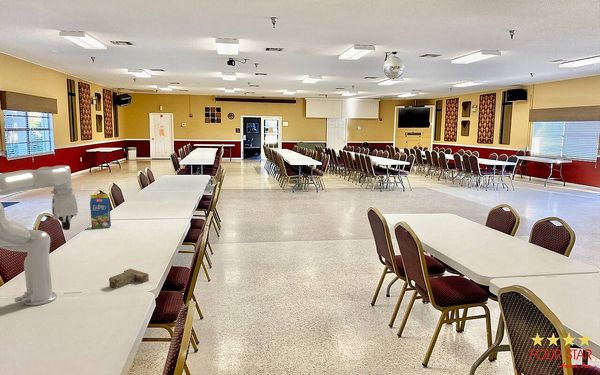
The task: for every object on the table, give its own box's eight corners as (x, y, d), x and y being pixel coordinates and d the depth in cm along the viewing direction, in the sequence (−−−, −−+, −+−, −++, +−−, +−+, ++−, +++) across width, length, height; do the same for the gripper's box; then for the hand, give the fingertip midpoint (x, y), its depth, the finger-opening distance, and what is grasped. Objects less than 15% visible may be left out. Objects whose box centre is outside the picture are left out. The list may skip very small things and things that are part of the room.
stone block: (135, 281, 208) (135, 272, 207) (116, 290, 198) (115, 280, 197) (127, 279, 211) (127, 270, 210) (107, 287, 201) (107, 277, 200)
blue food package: (93, 226, 315) (91, 194, 311) (110, 225, 318) (108, 193, 314) (91, 228, 309) (89, 195, 305) (109, 228, 312) (107, 194, 308)
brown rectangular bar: (141, 283, 206) (141, 276, 205) (124, 277, 213) (123, 270, 213) (148, 280, 209) (148, 273, 208) (131, 275, 216) (130, 268, 216)
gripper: (51, 194, 190) (54, 234, 193) (82, 190, 202) (85, 227, 205) (42, 193, 194) (46, 231, 197) (74, 189, 206) (77, 225, 209)
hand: (66, 229), depth 201 cm, fingers closed
